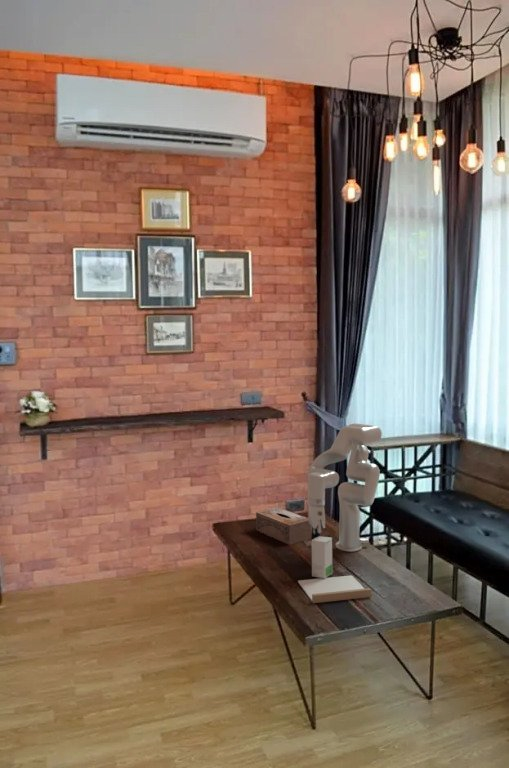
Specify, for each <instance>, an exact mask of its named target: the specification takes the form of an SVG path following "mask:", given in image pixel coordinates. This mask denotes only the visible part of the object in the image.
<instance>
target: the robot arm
mask: <svg viewBox="0 0 509 768" xmlns="http://www.w3.org/2000/svg"><path fill="white" fill-rule="evenodd" d="M382 435H383V433H382V430H381V428H380V427H379V426H377V425H373V424H365V423H350V424H348V425H344V426H342V427H341V429H340V430H339V432H338V434H337V436H336V437H335V440H334V441H333V443H332V444H331V447H330V449H329V448H328V449H327V450H325V451H324V452H322V453H321V454H319V455H317V457H315V459H314V460H313V461H312V463H311V465H310V467H309V469H308V471H307V474H306V475H307V506H308V511H307V514H308V515H307V518H308V522H309V524H310V525H311V538H310V539H311V542H312V540H313V539H314V538H317V537H319V536H321V533H322V529H325V528H326V513H325V512H326V511H325V510H326V509H325V505H326V489H331V488H335V487H336V486H337V485H338V484H339V482H340V475H339V473H338V472H336V471H334V470H331V469H326V468H325V467H326V466H328V465H330V464H334V463H335V464H336V463H339V462H343V461H345V460H346V459H347V458H348V457H349V459H348V461H347V462H348V463H347V467H346V473H345V475H346V477H347V479H349V480H351V481H354V482H351V481H345V482H342V483H340V485H339V486H338V490H337V495H338V503H339V531H338V533H339V536H338V541H337V542H336V543H335V548H337V549H338V550H340V551H343V552H350V553H351V552H359V551H361V550H362V549H363V544H368V543H369V542H370V541H369V538H364V537H360V526H361V525H360V524H361V523H360V519H361V518H360V517H361V512H360V508H359V506H363V507H369V506H372V505H373V503H374V501H375V498H376V494H377V490H378V485H379V480H380V475H381V471H380V468H379V466H378V465H377V464H376V463H372V462H368V460H369V459H368V458H369V449H368V447H369V446H373V445H375V444H378V443H379V442H380V441H381V440H382ZM356 482H361V483H364V484H361V483H356Z"/></svg>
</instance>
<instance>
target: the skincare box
mask: <svg viewBox="0 0 509 768" xmlns="http://www.w3.org/2000/svg"><path fill="white" fill-rule="evenodd" d="M331 575H333V537H331V536H330V537H328V536H321V535H320V536H319V537H317V538H314V539H313V540H312V541H311V577H315V578H317V579H320V578H324V579H325V578H329V577H330V576H331Z"/></svg>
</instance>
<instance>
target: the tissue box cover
mask: <svg viewBox="0 0 509 768" xmlns="http://www.w3.org/2000/svg"><path fill="white" fill-rule="evenodd" d="M255 515H256V516H255V518H256V519H255V525H256V527H255V531H256V530H257V531H256V532H258V531H259V532H258V533H262V534H263V533H264V535H265V534H266V536H268V537H270V538H272V537H273V539H275V540H277V541H280V542H281V543H284V544H287V545H289V546H290V545H293V544H297V543H300V542H304V541H306V540H310V539H312V532H311V525H310V524H309V522H308V517H305V516H302V515H301V514H300V515H299V514H298V513H294V512H292V511H290V510H288V509H283V508H281V507H278V506H276V507H272V508H268V509H263V510H260V511H256V514H255Z"/></svg>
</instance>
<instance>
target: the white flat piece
mask: <svg viewBox="0 0 509 768" xmlns="http://www.w3.org/2000/svg"><path fill="white" fill-rule="evenodd" d="M297 583H298V584H299V586H300V587H301V588H302V590H303V591H304V592H305V595H307V596H308V598H309V599H310V601H311V603H313V604H317V603H327V602H328V603H329V602H336V601H346V600H354V599H355V600H356V599H363V598H371V597H372V588H370V587H368V588H364V587H363V586H362V584H361V583H360V582H359V581H358V580H357V579H356V578H355V577H354V576H353V575H343V576H342V575H341V576H332V577H330V576H329V577H326V578H325V579H324V578H312V579H311V578H310V579H303V580H302V579H300V580H297Z"/></svg>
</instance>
